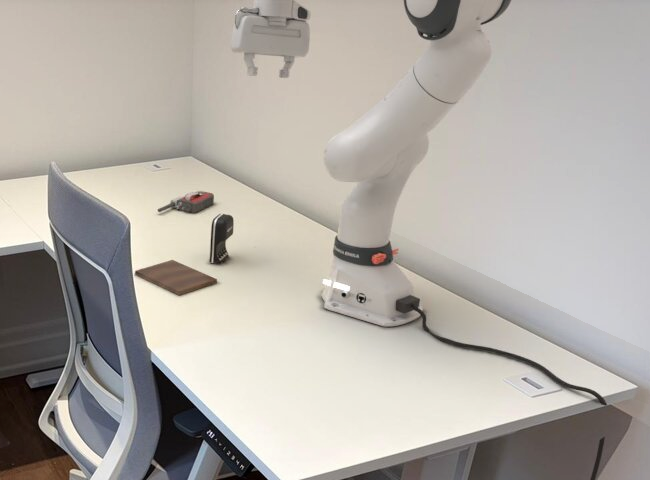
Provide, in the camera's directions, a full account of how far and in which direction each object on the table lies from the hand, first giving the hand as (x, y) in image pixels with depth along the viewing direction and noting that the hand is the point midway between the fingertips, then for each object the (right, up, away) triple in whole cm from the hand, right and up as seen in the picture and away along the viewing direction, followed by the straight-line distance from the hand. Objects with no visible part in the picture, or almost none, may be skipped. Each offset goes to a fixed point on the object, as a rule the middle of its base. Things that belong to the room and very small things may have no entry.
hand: (268, 76), depth 192 cm
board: (-20, -44, +11) cm, 50 cm away
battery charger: (-8, -38, +22) cm, 45 cm away
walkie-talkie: (-14, -17, +57) cm, 61 cm away
